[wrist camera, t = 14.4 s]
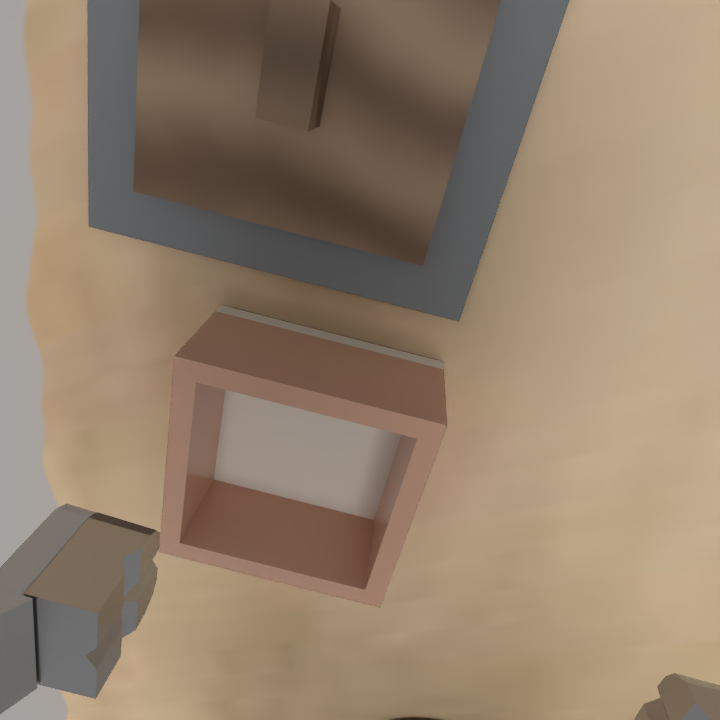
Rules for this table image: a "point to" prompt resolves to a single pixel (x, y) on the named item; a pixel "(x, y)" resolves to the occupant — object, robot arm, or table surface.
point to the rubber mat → (306, 254)
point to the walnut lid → (309, 112)
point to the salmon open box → (298, 453)
